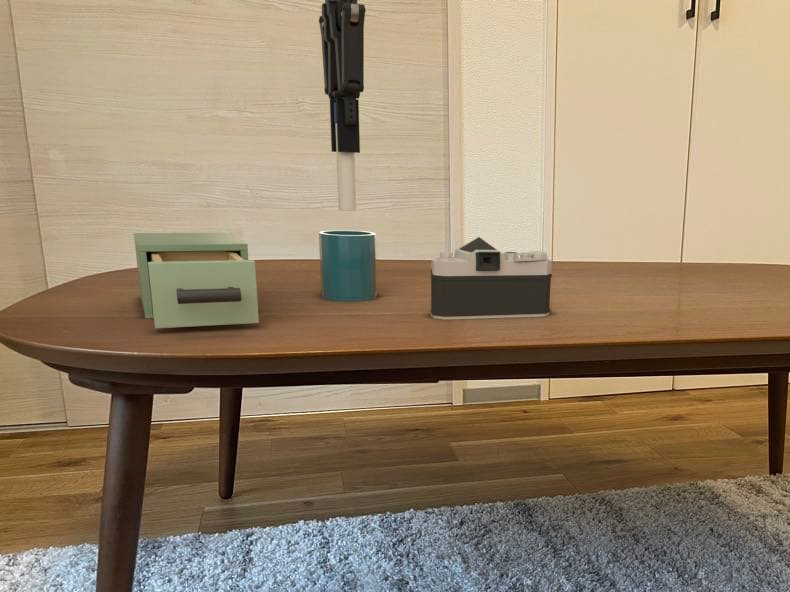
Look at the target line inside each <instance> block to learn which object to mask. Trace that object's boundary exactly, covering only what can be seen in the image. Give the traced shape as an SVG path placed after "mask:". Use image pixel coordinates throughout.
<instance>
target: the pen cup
mask: <svg viewBox="0 0 790 592" xmlns="http://www.w3.org/2000/svg"><path fill="white" fill-rule="evenodd" d="M318 247H319V271H320V293H321V298H322V299H325V300H327V301H333V302H334V301H335V302H366V301H371V300H372V301H373V300H375V299H377V295H378V294H377V293H378V281H377V279H378V278H377V277H378V275H377V272H378V271H377V234H376V233H375V232H371V231H364V230H323V231H319V232H318Z"/></svg>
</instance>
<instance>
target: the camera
mask: <svg viewBox="0 0 790 592" xmlns="http://www.w3.org/2000/svg"><path fill="white" fill-rule="evenodd" d="M552 264H553V260H552V259H549V258H548V252H547V251H543V250H532V251H529V252H527V251H526V252H516V251H505V252H504V253H503V251H502V252H501V251H500V250H499V249H497V248H496V247H494V246H492V245H491V244H490V243H488V242H486V241H485V240H484V239H483V238H482V237H480V236H477V237H475V238H473V239H472V240H470V241H468V242H467V243H464V244H463V245H461V246H460V247H458V248H456V249H455V250H454V253H453V252H452V251H439V257H438V256H437V257H435V258H432V259H430V316H431V317H432V318H433V319H436V320H437V319H438V320H468V319H469V320H471V319H473V320H474V319H504V318H507V319H508V318H533V317H534V318H535V317H547V316H549V315H550V312H551V308H550V306H551V305H550V304H551V286H552V285H551V283H552V277H553V274H552Z"/></svg>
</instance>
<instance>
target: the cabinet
mask: <svg viewBox="0 0 790 592" xmlns="http://www.w3.org/2000/svg"><path fill="white" fill-rule="evenodd" d="M133 238H134V247H135V257H136V265H137V266H136V267H137V274H138V283H139V293H140V300H141V305H142V310H143V313H144V317H145V319H154V316H153V307H152V298H151V288H150V279H149V270H148V262H151V255H150V252H166V251H234V252H235V253H236V254H238V255H239V256H240V257H241V258H242V259H244V260H249V251H248V250H249V249H248V248H249V247H248V243H246V242H245V241H243V240H242V239H241V238H239V237H238V236H237V235H235V234H234V233H232V232H133Z"/></svg>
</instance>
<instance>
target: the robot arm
mask: <svg viewBox="0 0 790 592" xmlns="http://www.w3.org/2000/svg"><path fill="white" fill-rule="evenodd" d="M366 11H367V9H366V6H365V4H362V3H358V0H324V3H321V15H320V16H319V18H318V23H319V29H320V36H321V38H320V39H321V52H322V68H323V82H324V87H323V88H324V89H323V91H324V94H325V95H327V96H328V100H329V117H330V120H329V121H330V144H331V152H332V153H337V152H336V125H335V124H336V123H335V119H334V103H335V102H336V115H337V143H338V152H351V153H355V154H361V143H360V142H361V141H360V107H359V106H360V104H359V99H360V97H361V93H363V92H364V90H365V86H364V85H365V84H364V83H365V82H364V81H365V78H364V75H365V74H364V73H365V72H364V71H365V68H364V66H365V65H364V61H365V59H364V58H365V54H364V53H365V51H364V49H365V45H364V43H365V41H364V39H365V38H364V37H365V31H364V30H365V17H366Z"/></svg>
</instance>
